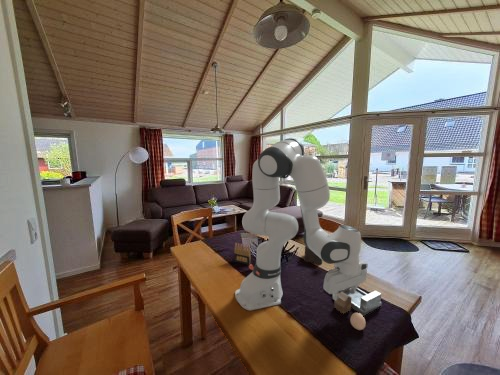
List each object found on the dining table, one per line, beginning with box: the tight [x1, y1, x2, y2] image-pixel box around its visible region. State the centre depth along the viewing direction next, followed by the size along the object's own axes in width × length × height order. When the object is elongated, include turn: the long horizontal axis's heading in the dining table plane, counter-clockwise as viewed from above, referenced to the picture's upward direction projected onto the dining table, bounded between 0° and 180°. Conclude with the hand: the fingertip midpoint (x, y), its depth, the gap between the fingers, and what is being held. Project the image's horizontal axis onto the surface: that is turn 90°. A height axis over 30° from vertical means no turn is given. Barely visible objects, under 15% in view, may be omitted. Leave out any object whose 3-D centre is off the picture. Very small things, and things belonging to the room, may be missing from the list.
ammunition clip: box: [233, 242, 252, 266], centre depth 127 cm, size 11×2×12 cm, turn 65°
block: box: [333, 292, 352, 315], centre depth 89 cm, size 4×4×6 cm
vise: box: [337, 287, 382, 317], centre depth 96 cm, size 12×20×6 cm, turn 28°
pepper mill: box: [303, 245, 323, 265], centre depth 130 cm, size 16×11×18 cm
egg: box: [350, 312, 367, 331], centre depth 79 cm, size 5×5×6 cm
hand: (344, 296), depth 87 cm, fingers open, 8 cm apart
